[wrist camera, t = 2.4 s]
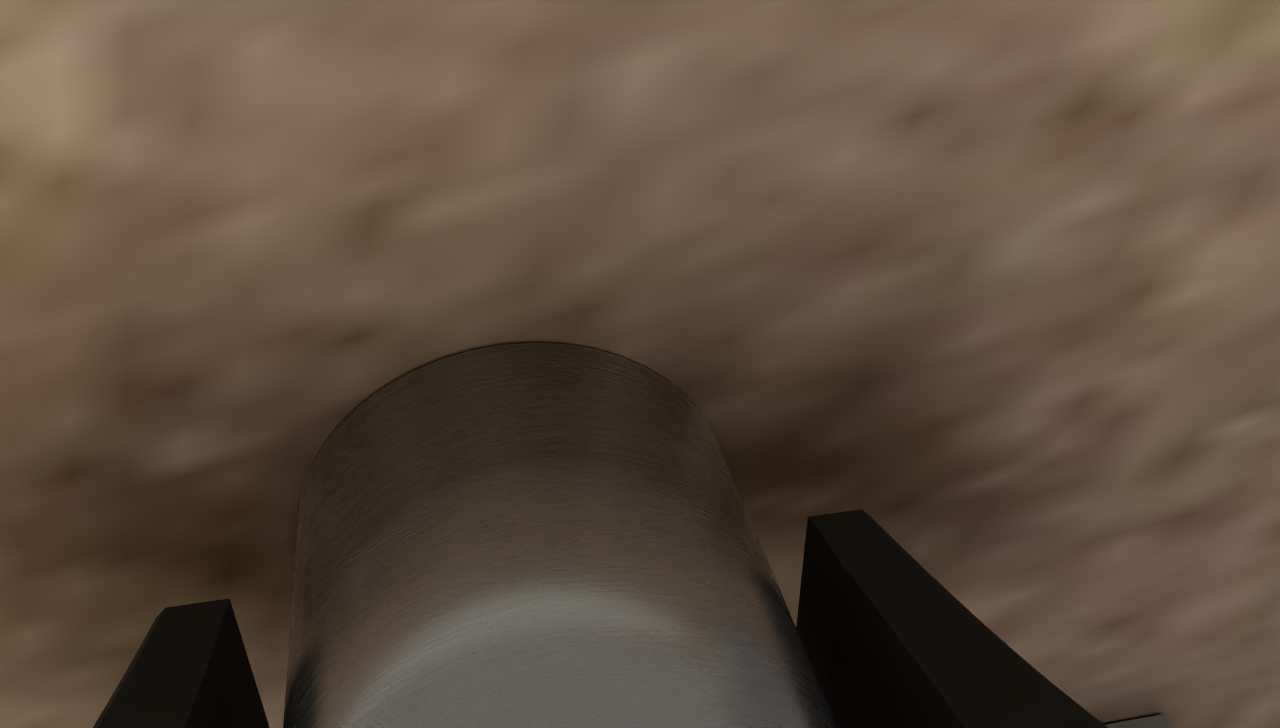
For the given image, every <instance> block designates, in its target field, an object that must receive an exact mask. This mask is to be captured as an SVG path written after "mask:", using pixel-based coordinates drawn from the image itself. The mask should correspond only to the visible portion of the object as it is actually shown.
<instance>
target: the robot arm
mask: <svg viewBox="0 0 1280 728" xmlns="http://www.w3.org/2000/svg"><path fill="white" fill-rule="evenodd" d="M796 629H797V632H798V634H799V637H800V639H801V641H802V644H803V646H804V648H805V651H806V653H807V656H808V658H809V660H810V663H811V665H812V667H813V670H814V672H815V675H816V677H817V679H818V682H819V684H820V686H821V689H822V691H823V694H824V696H825V698H826V701H827V703H828V706H829V708H830V710H831V713H832V715H833V717H834V720H835V722H836V725H837V727H838V728H1108V727H1107V726H1105V725H1104V724H1103V723H1101V722H1100V721H1099V720H1097V719H1096V718H1095V717H1093V716H1092V715H1091V714H1090V713H1088V712H1087V711H1086V710H1085V709H1083V708H1082V707H1081V706H1080V705H1078V704H1077V703H1076V702H1075V701H1074V700H1072V699H1071V698H1070V697H1069V696H1067V695H1066V694H1065V693H1064V692H1062V691H1061V690H1060V689H1059V688H1057V687H1056V686H1055V685H1054V684H1052V683H1051V682H1050V681H1049V680H1048V679H1046V678H1045V677H1044V676H1043V675H1042V674H1040V673H1039V672H1038V671H1037V670H1036V669H1035V668H1033V667H1032V666H1031V665H1030V664H1029V663H1027V662H1026V661H1025V660H1024V659H1023V658H1022V657H1020V656H1019V655H1018V654H1017V653H1016V652H1015V651H1014V650H1013V649H1011V648H1010V647H1009V646H1008V645H1007V644H1006V643H1005V642H1003V641H1002V640H1001V639H1000V638H999V637H998V636H997V635H996V634H994V633H993V632H992V631H991V630H990V629H989V628H988V627H987V626H985V625H984V624H983V623H982V622H981V621H980V620H979V619H977V618H976V617H975V616H974V615H973V614H972V613H971V612H970V611H969V610H968V609H967V608H965V607H964V606H963V605H962V604H961V603H960V602H959V601H958V600H957V599H956V598H955V597H954V596H953V595H951V594H950V593H949V592H948V591H947V590H946V589H945V588H944V587H943V586H942V585H941V584H940V583H939V582H938V581H937V580H936V579H935V578H934V577H932V576H931V575H930V574H929V573H928V572H927V571H926V570H925V569H924V568H923V567H922V566H921V565H920V564H919V563H918V562H917V561H916V560H915V559H914V558H913V557H912V556H911V555H910V554H909V553H908V552H907V551H905V550H904V549H903V548H902V547H901V546H900V545H899V544H898V543H897V542H896V541H895V540H894V539H893V538H892V537H891V536H890V535H889V534H888V533H887V532H886V531H885V530H884V529H883V528H882V527H881V526H880V525H879V524H878V523H877V522H876V521H875V520H874V519H872V518H871V517H870V516H869V515H868V514H867V513H866V512H865V511H863V510H862V509H861V510H854V511H847V512H840V513H833V514H825V515H818V516H811V517H808V520H807V530H806V540H805V549H804V559H803V569H802V578H801V588H800V598H799V607H798V617H797V627H796ZM93 728H269V725H268V721H267V718H266V715H265V712H264V708H263V705H262V702H261V699H260V695H259V692H258V689H257V686H256V683H255V679H254V676H253V673H252V670H251V666H250V663H249V660H248V657H247V653H246V650H245V647H244V644H243V640H242V637H241V634H240V631H239V628H238V624H237V621H236V618H235V615H234V611H233V608H232V605H231V602H230V599H224V600H217V601H210V602H203V603H196V604H189V605H182V606H174V607H167V608H165V609H164V610H163V611H162V612H161V613H160V614H159V615H158V616H157V618H156V619H155V621H154V623H153V625H152V626H151V628H150V630H149V632H148V634H147V636H146V637H145V639H144V641H143V643H142V645H141V646H140V648H139V650H138V652H137V653H136V655H135V657H134V659H133V660H132V662H131V664H130V666H129V667H128V669H127V671H126V673H125V674H124V676H123V678H122V680H121V681H120V683H119V685H118V687H117V688H116V690H115V692H114V693H113V695H112V697H111V698H110V700H109V702H108V703H107V705H106V707H105V708H104V710H103V712H102V713H101V715H100V717H99V718H98V720H97V722H96V723H95V725H94V727H93Z"/></svg>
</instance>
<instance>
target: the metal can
mask: <svg viewBox="0 0 1280 728" xmlns="http://www.w3.org/2000/svg"><path fill="white" fill-rule="evenodd" d="M283 728H838V727H837V725H836V722H835V720H834V717H833V715H832V713H831V710H830V708H829V706H828V703H827V701H826V698H825V696H824V694H823V691H822V689H821V686H820V684H819V682H818V679H817V677H816V675H815V672H814V670H813V667H812V665H811V663H810V660H809V658H808V656H807V653H806V651H805V648H804V646H803V644H802V641H801V639H800V637H799V634H798V632H797V629H796V627H795V625H794V622H793V620H792V618H791V615H790V613H789V610H788V608H787V606H786V603H785V601H784V599H783V596H782V594H781V591H780V589H779V587H778V584H777V582H776V579H775V577H774V575H773V572H772V570H771V568H770V565H769V563H768V560H767V558H766V556H765V553H764V551H763V549H762V546H761V544H760V541H759V539H758V537H757V534H756V532H755V530H754V527H753V525H752V522H751V520H750V518H749V515H748V513H747V511H746V508H745V506H744V503H743V501H742V499H741V496H740V494H739V491H738V489H737V487H736V484H735V482H734V480H733V477H732V475H731V472H730V470H729V468H728V465H727V463H726V461H725V458H724V456H723V453H722V451H721V449H720V446H719V444H718V442H717V439H716V437H715V434H714V432H713V430H712V428H711V427H710V425H709V424H708V422H707V420H706V419H705V417H704V416H703V414H702V413H701V411H700V410H699V409H698V408H697V407H696V406H695V405H694V403H693V402H692V401H691V400H690V399H689V398H688V397H687V396H686V395H685V394H684V393H683V392H682V391H680V390H679V389H678V388H677V387H676V386H674V385H673V384H672V383H671V382H669V381H668V380H667V379H665V378H664V377H662V376H660V375H658V374H657V373H655V372H653V371H652V370H650V369H648V368H647V367H645V366H643V365H640V364H638V363H636V362H633V361H631V360H629V359H626V358H624V357H621V356H619V355H615V354H611V353H608V352H604V351H601V350H597V349H594V348H588V347H581V346H575V345H568V344H557V343H520V344H506V345H498V346H492V347H487V348H481V349H476V350H470V351H467V352H464V353H460V354H457V355H454V356H450V357H447V358H443V359H440V360H438V361H435V362H433V363H431V364H428V365H426V366H424V367H421V368H419V369H416V370H414V371H412V372H410V373H408V374H406V375H405V376H403V377H401V378H399V379H397V380H396V381H394V382H392V383H390V384H388V385H387V386H385V387H384V388H382V389H381V390H380V391H378V392H377V393H375V394H374V395H373V396H371V397H370V398H369V399H367V400H366V401H364V402H363V403H362V404H361V405H360V406H359V407H357V408H356V409H355V410H354V411H353V412H352V413H351V414H350V415H349V416H348V417H347V418H346V419H345V420H344V421H343V422H342V423H341V424H340V425H339V426H338V428H337V429H336V430H335V431H334V433H333V434H332V435H331V436H330V438H329V439H328V440H327V441H326V443H325V444H324V445H323V447H322V449H321V451H320V452H319V454H318V456H317V458H316V459H315V461H314V463H313V464H312V466H311V469H310V471H309V474H308V477H307V479H306V482H305V484H304V487H303V491H302V496H301V501H300V506H299V511H298V526H297V540H296V554H295V568H294V583H293V597H292V611H291V625H290V640H289V654H288V668H287V682H286V697H285V711H284V725H283Z"/></svg>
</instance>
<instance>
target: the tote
mask: <svg viewBox="0 0 1280 728" xmlns="http://www.w3.org/2000/svg"><path fill="white" fill-rule="evenodd" d="M1105 726H1107V727H1108V728H1172V726H1171V725H1170V723H1169V722H1168V720H1167V719H1166V718H1165V716H1164V715H1163V714H1162V715H1156V716H1151V717H1145V718H1140V719H1134V720H1128V721H1123V722H1117V723H1112V724H1106V725H1105Z"/></svg>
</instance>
